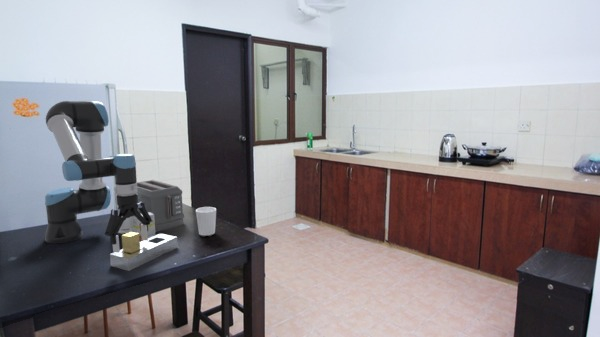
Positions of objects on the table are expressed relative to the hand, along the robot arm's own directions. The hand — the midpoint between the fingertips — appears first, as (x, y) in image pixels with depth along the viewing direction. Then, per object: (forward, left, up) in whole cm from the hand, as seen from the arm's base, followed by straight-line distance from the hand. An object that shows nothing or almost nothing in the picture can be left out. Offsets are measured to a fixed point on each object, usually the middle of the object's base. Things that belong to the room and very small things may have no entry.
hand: (131, 245), depth 148 cm
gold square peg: (0, 0, -7) cm, 7 cm away
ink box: (-17, +22, -8) cm, 29 cm away
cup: (+6, +39, -7) cm, 40 cm away
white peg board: (0, +7, -7) cm, 10 cm away
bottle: (-34, +26, -7) cm, 43 cm away
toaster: (-33, +43, -8) cm, 55 cm away
